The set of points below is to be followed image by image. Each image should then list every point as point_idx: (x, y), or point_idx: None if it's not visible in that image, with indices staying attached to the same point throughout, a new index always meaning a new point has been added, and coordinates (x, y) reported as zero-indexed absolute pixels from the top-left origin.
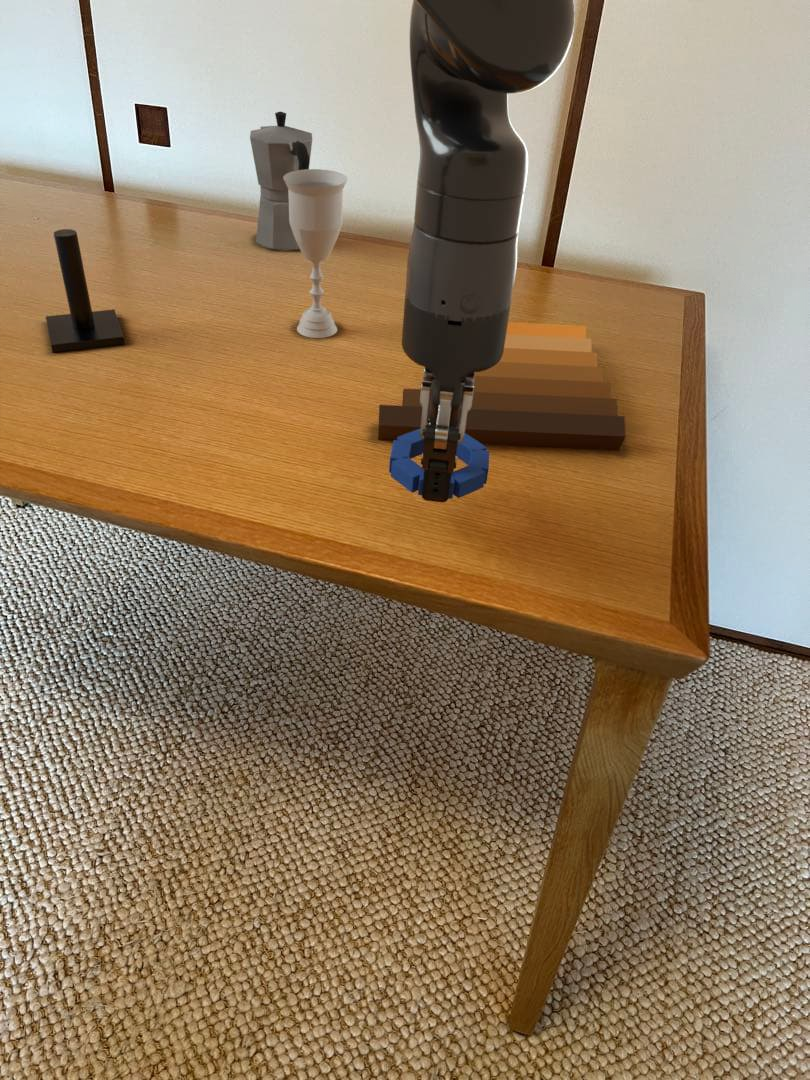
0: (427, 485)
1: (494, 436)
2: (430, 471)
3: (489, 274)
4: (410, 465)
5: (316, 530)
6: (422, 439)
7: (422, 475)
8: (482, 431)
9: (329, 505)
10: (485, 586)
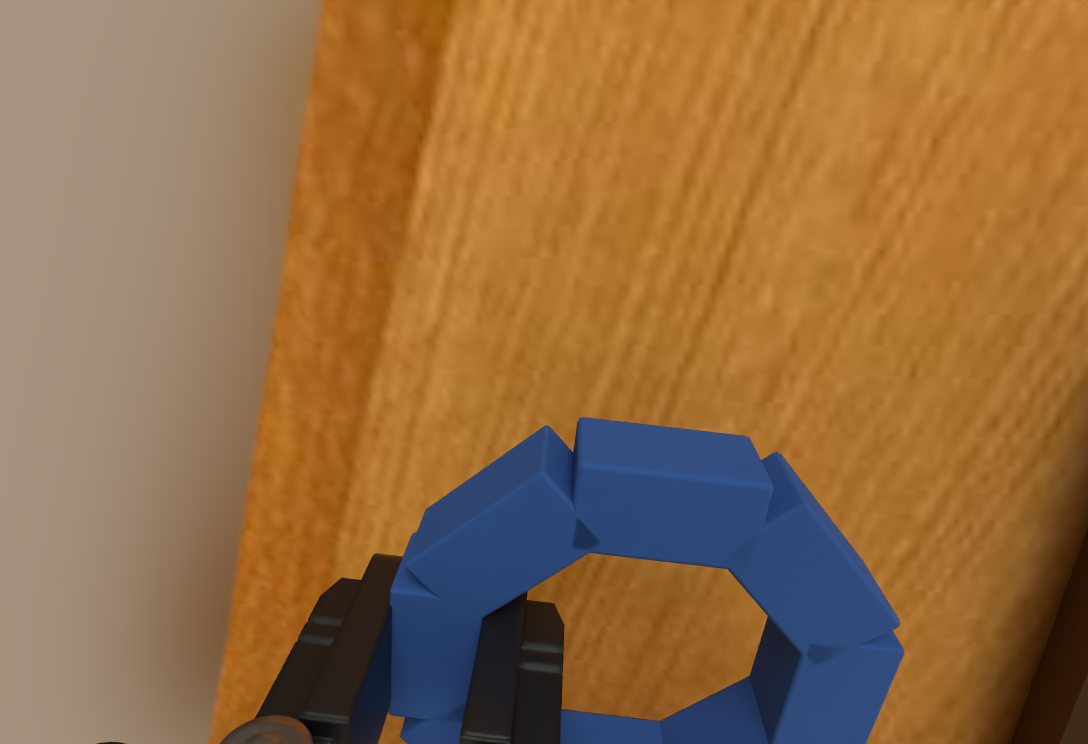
0: (300, 635)
1: (1046, 720)
2: (259, 716)
3: None
4: (508, 558)
5: (486, 41)
6: (777, 621)
7: (427, 604)
8: (1069, 704)
9: (664, 86)
10: (293, 587)
